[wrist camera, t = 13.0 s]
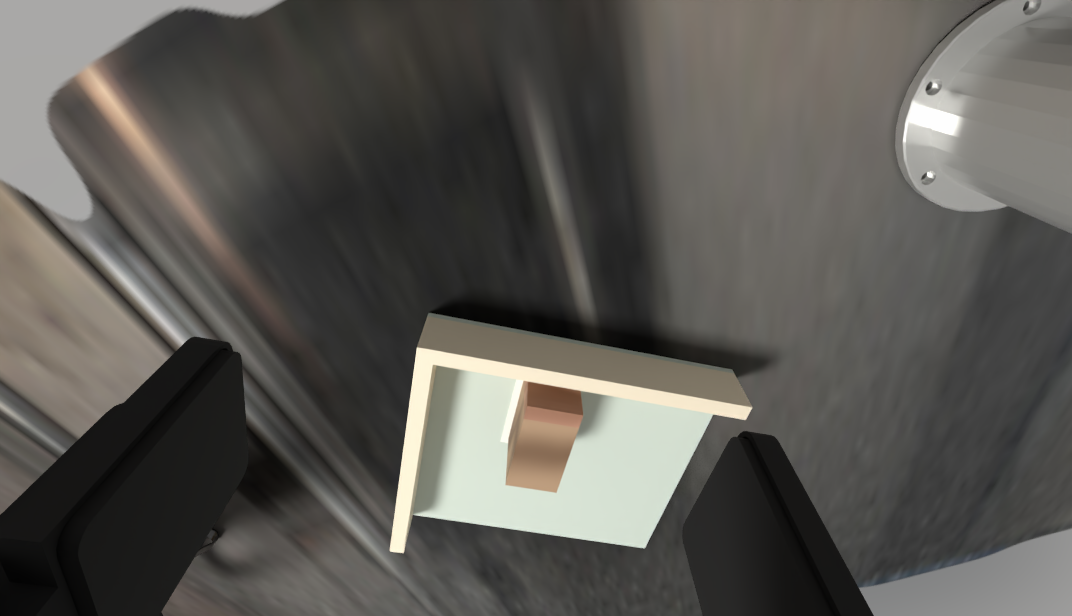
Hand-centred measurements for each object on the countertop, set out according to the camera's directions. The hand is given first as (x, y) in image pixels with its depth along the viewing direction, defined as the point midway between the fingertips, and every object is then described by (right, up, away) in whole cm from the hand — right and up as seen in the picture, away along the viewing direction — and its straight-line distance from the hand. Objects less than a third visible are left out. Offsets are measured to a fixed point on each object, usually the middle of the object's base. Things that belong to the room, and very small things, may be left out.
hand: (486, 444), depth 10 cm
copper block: (+1, -5, +33) cm, 33 cm away
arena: (+2, -9, +36) cm, 37 cm away
